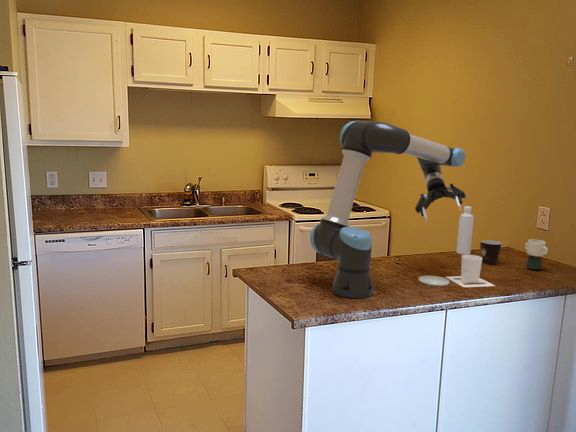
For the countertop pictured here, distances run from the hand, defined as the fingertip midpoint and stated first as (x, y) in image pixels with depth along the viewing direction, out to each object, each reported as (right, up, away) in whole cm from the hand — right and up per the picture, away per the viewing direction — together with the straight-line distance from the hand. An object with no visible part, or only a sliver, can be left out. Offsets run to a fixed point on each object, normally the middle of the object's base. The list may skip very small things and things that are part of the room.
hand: (442, 213), depth 203 cm
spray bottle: (+27, -20, +54) cm, 63 cm away
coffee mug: (+33, -23, +38) cm, 55 cm away
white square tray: (+13, -27, +6) cm, 31 cm away
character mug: (+49, -25, +29) cm, 62 cm away
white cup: (+13, -27, +6) cm, 31 cm away
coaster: (-2, -27, +4) cm, 28 cm away
